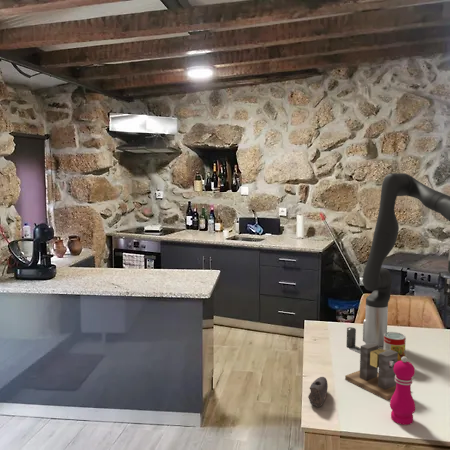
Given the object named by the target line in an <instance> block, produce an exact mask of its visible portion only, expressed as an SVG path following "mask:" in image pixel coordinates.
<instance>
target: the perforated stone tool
mask: <svg viewBox="0 0 450 450" xmlns="http://www.w3.org/2000/svg"><path fill="white" fill-rule="evenodd" d="M328 387H329V386H328V380H327V378H326V377H324V376H320V377H318V378H316V379H315V380H314V381H313V382H311V385H310V387H309V390H310V393H309V394H308V396H307V397H308V401H309V403H310V405H312V406H316V408H320V407H321V406H322V405H323V404H324V402H325V400H326V397H327V393H328V390H329V389H328Z"/></svg>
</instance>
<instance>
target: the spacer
mask: <svg viewBox="0 0 450 450" xmlns="http://www.w3.org/2000/svg"><path fill="white" fill-rule="evenodd" d="M382 352H385V350H384V348H383V349H382V348H378V349H377V350H374V351H371V352H370V365H371V366H374V367H376V368H378V369H379V353H382Z"/></svg>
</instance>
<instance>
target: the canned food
mask: <svg viewBox="0 0 450 450" xmlns="http://www.w3.org/2000/svg"><path fill="white" fill-rule="evenodd" d="M406 339H407V337H406V335H405V334H403V333H400V332H395V331H387V333H385V334H384V346H383V350H385V351H388V350H393V351H395V352H398V361H402V360H401V358H402V357H404V356H405V357H406V341H407V340H406ZM398 361H397V362H398Z"/></svg>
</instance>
